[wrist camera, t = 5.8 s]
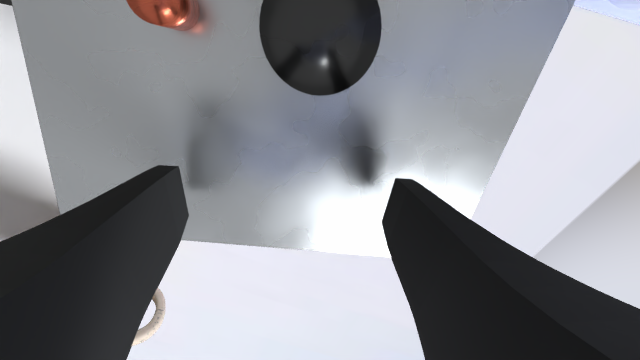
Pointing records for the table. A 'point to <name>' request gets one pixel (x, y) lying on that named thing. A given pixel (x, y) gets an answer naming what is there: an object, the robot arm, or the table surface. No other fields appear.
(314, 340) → the table surface
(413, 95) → the cooker lid
